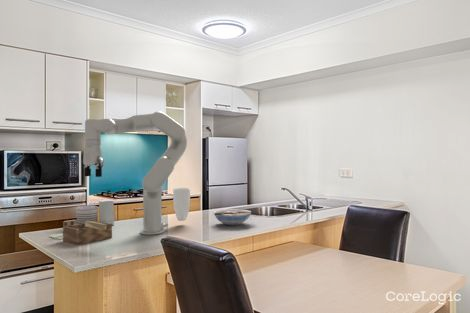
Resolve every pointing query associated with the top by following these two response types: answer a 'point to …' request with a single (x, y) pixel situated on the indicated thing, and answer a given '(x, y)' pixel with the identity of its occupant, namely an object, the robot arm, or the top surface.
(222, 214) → the ramen bowl
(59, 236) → the lid
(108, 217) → the skincare box
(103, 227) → the wooden bar
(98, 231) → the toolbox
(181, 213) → the cup
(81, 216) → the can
